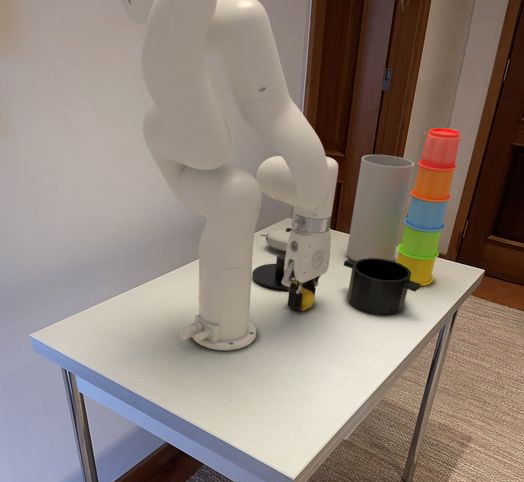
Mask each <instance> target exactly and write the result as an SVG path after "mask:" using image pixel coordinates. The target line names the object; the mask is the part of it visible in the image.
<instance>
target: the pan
mask: <svg viewBox="0 0 524 482" xmlns="http://www.w3.org/2000/svg"><path fill="white" fill-rule="evenodd" d="M343 266H344V267H347V268H350V269H351V274H350V279H349V286H348V292H347V302H348V304H349V305H350V306H351V307H352V308H354V309H356V310H357V311H359V312H362V313H365V314H368V315H374V316H381V317H382V316H383V317H385V316H393V315H397V314H399V313H401V312H403V309H404V308H405V307H404V306H405V302H406V298H407V293H408V290H409V291H411V292H414V293H415V292H417V291H418V290H420V289H421V287H422V286H421V284H419V283H416V282H413V281H411V280H410V277H411V272H410V270H409V269H408V268H407V267H405V266H404V265H402V264H400V263H397V261H395V260H393V261H391V260H386V259H380V258H367V259H360V260H358V261H355V260H352V259H350V258H348V259H346V260H344V261H343Z"/></svg>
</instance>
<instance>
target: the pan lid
mask: <svg viewBox="0 0 524 482" xmlns="http://www.w3.org/2000/svg"><path fill="white" fill-rule="evenodd" d="M285 256H286V254H277V256H276V260H275V261H276V262H275V263H267V264H262V265H259V266H257V267H255V268H254V269H253V270H252V274H251V277H252V279H253V280H254V281H255V282H257V283H258V284H260V285H262V286H264V287H268V288H271V289H278V290H288V289H287V287H286V286H285V285H283V284H282V283H281V282H282V279H283V277H284V263H285ZM304 283H305V282H304Z"/></svg>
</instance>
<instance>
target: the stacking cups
mask: <svg viewBox="0 0 524 482" xmlns="http://www.w3.org/2000/svg"><path fill="white" fill-rule="evenodd" d="M460 134H461V132H460V131H458V130H456V129H453V128H446V127H433V128H430V129H429V131H428V132H427V133H426V137H425V142H424V147H423V151H422V155H421V159H420V160H419V161H418V165H419V166H418V171H417V177H416V180H415V185H414V189H412V190H410V191H411V192H410V195H411V200H410V205H409V209H408V214H407V217H406V218H405V219H404V222H403V223H404V224H405V225H404V230H403V234H402V238H401V242H400V243H399V244H397V247H396V250H397V251H398V253H397V258H396V262H397V263H400V264H402V265H404V266H405V267H407V268H408V269H409V270H410V272H411V277H410V280H411V281H413V282H416V283H419V284H421V286H420V287H425V286H428V285H431V284H432V283H433V282H434V277H433V275H432V273H433V270H434V267H435V262H436V259H437V258H438V257H439V254H440V252H439V250H438V247H439V243H440V239H441V235H442V231H443V230H444V229H445V224H444V219H445V214H446V211H447V207H448V203H449V201H450V200H451V197H452V196H451V195H450V191H451V187H452V182H453V178H454V174H455V170H456V169H457V164H456V162H457V161H456V160H457V155H458V151H459V147H460V141H461V136H462V135H460Z"/></svg>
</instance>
